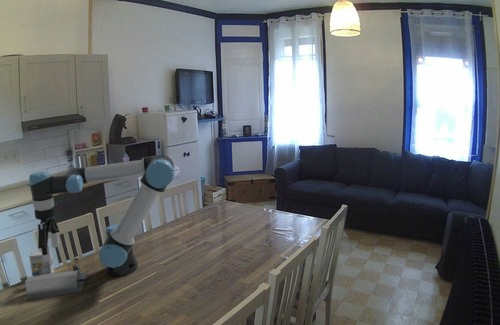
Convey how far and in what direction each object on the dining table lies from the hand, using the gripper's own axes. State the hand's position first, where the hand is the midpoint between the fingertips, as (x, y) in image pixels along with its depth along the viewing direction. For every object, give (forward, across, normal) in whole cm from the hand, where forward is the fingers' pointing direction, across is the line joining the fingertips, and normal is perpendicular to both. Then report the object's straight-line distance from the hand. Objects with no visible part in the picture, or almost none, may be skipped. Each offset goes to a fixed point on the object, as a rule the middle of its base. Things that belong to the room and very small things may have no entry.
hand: (51, 253), depth 149 cm
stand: (+18, -8, -1) cm, 20 cm away
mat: (+18, 0, 0) cm, 18 cm away
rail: (+18, 0, -1) cm, 18 cm away
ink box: (+18, -17, -10) cm, 27 cm away
